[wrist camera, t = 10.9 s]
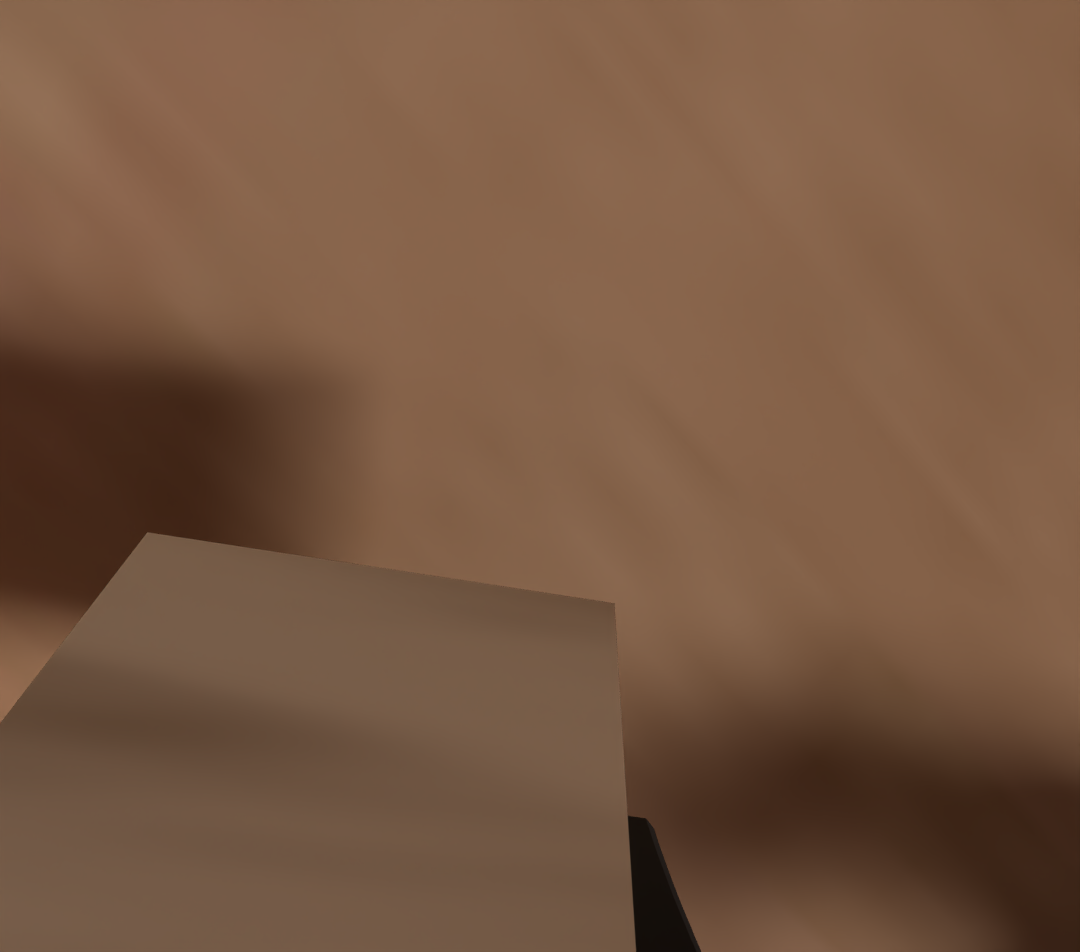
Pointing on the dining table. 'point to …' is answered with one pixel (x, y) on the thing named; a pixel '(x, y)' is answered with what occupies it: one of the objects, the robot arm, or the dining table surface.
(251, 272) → the dining table surface
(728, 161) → the dining table surface
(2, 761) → the beech cube
